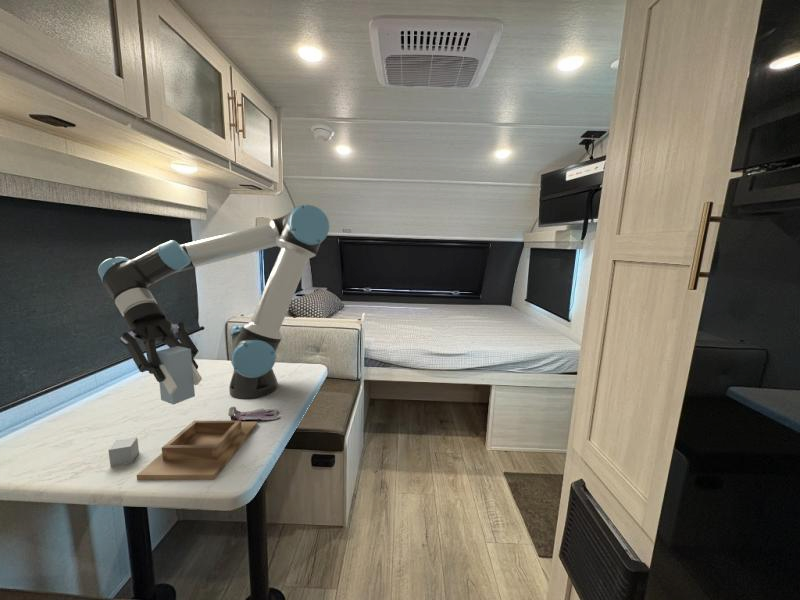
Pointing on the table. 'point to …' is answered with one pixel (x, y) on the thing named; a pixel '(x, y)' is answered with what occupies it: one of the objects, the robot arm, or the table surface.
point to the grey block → (123, 451)
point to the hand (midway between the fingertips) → (186, 386)
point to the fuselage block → (177, 373)
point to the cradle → (199, 450)
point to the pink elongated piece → (254, 414)
